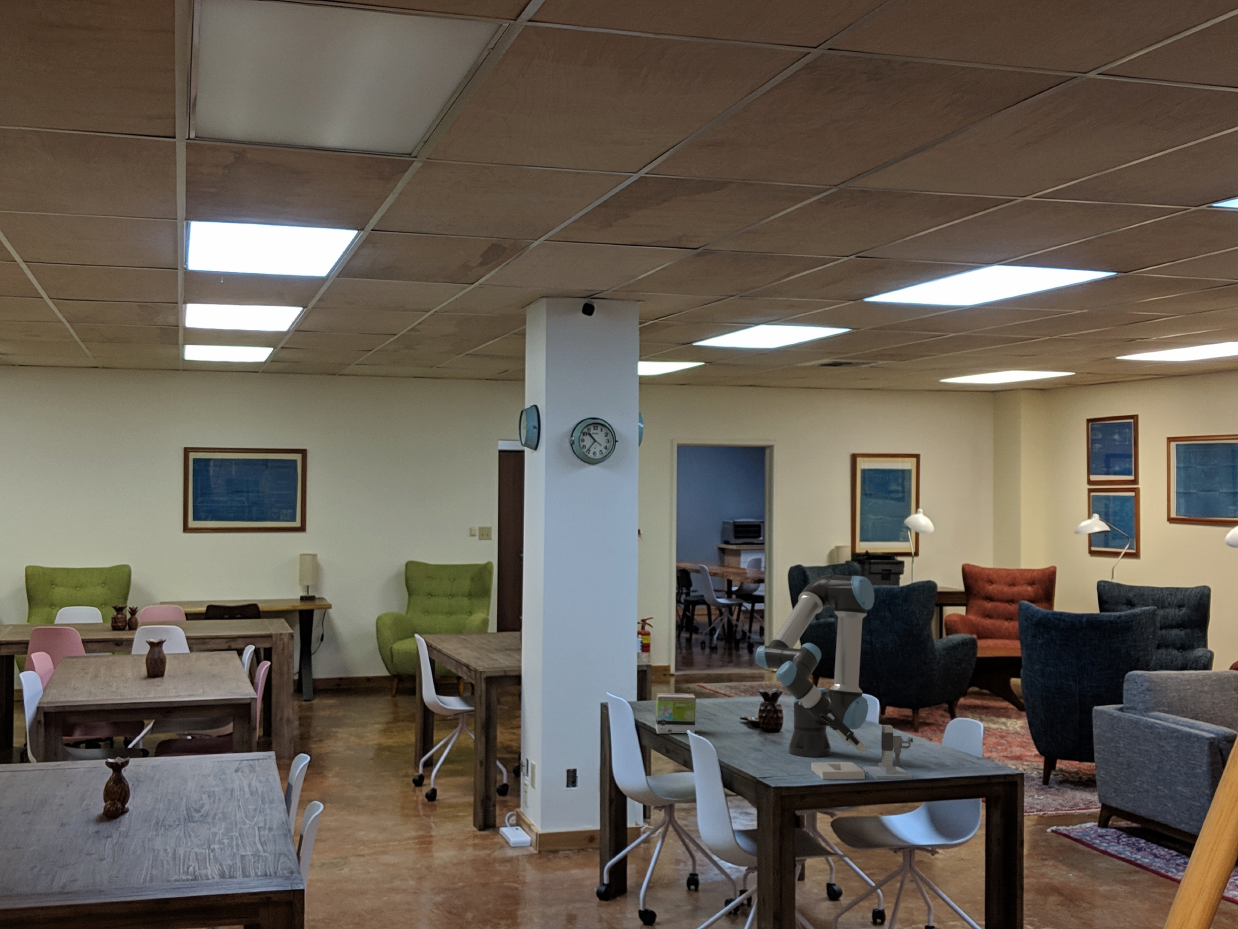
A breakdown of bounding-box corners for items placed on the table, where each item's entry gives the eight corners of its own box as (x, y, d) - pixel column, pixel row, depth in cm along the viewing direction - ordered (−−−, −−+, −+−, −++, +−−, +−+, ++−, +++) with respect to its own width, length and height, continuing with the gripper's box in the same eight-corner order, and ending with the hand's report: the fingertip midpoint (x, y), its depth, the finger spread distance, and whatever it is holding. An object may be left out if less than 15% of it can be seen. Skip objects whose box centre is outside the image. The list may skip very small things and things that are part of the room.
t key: (878, 768, 390) (878, 723, 391) (887, 768, 390) (888, 723, 391) (886, 773, 382) (886, 728, 383) (895, 773, 382) (896, 728, 383)
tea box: (657, 734, 451) (657, 696, 452) (655, 729, 461) (655, 692, 462) (695, 734, 451) (695, 696, 452) (693, 730, 461) (693, 692, 462)
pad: (863, 769, 393) (863, 766, 393) (897, 769, 394) (897, 766, 394) (876, 779, 379) (876, 776, 379) (912, 778, 380) (912, 775, 380)
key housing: (811, 770, 391) (811, 762, 391) (851, 769, 392) (851, 762, 392) (822, 779, 377) (822, 771, 377) (864, 779, 378) (864, 771, 378)
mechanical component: (912, 767, 397) (912, 738, 398) (882, 765, 400) (882, 736, 400) (912, 765, 400) (912, 736, 401) (882, 764, 402) (882, 734, 403)
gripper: (796, 703, 397) (838, 747, 398) (816, 715, 372) (861, 762, 373) (811, 687, 398) (853, 731, 398) (832, 698, 373) (877, 745, 374)
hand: (857, 746), depth 386 cm, fingers open, 13 cm apart
